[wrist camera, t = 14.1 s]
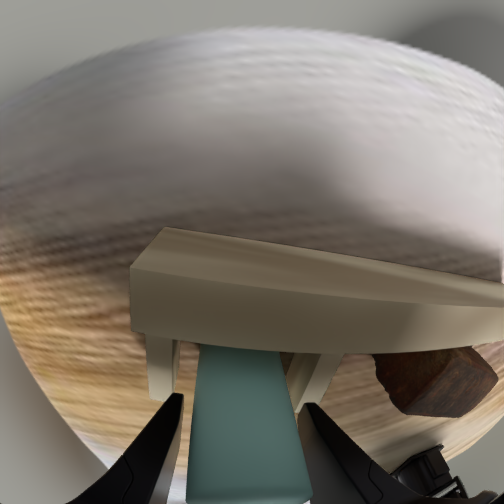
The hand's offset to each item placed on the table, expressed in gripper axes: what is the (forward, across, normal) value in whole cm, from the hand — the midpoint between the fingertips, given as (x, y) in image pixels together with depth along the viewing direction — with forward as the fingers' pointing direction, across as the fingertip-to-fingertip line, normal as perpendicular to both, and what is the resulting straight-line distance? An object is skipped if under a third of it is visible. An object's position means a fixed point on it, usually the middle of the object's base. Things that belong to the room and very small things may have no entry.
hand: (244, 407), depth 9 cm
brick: (+4, -12, 0) cm, 13 cm away
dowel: (+4, 0, 0) cm, 4 cm away
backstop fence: (+4, -7, -2) cm, 8 cm away
